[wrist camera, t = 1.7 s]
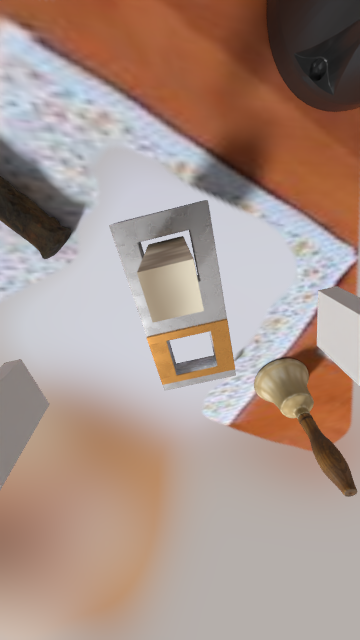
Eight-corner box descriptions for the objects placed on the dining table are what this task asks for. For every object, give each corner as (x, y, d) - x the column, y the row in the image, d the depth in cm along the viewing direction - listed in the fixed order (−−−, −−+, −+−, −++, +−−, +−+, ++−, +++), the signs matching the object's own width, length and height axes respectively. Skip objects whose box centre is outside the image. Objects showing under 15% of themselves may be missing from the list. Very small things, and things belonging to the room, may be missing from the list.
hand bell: (315, 385, 38) (404, 496, 24) (267, 408, 40) (323, 524, 26) (296, 348, 35) (386, 450, 21) (244, 375, 37) (294, 487, 22)
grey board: (204, 200, 26) (208, 200, 24) (231, 364, 36) (236, 376, 33) (114, 223, 26) (108, 225, 24) (164, 378, 36) (164, 391, 34)
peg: (182, 236, 27) (193, 258, 17) (190, 270, 29) (204, 310, 18) (148, 244, 28) (136, 272, 17) (157, 277, 29) (152, 322, 19)
